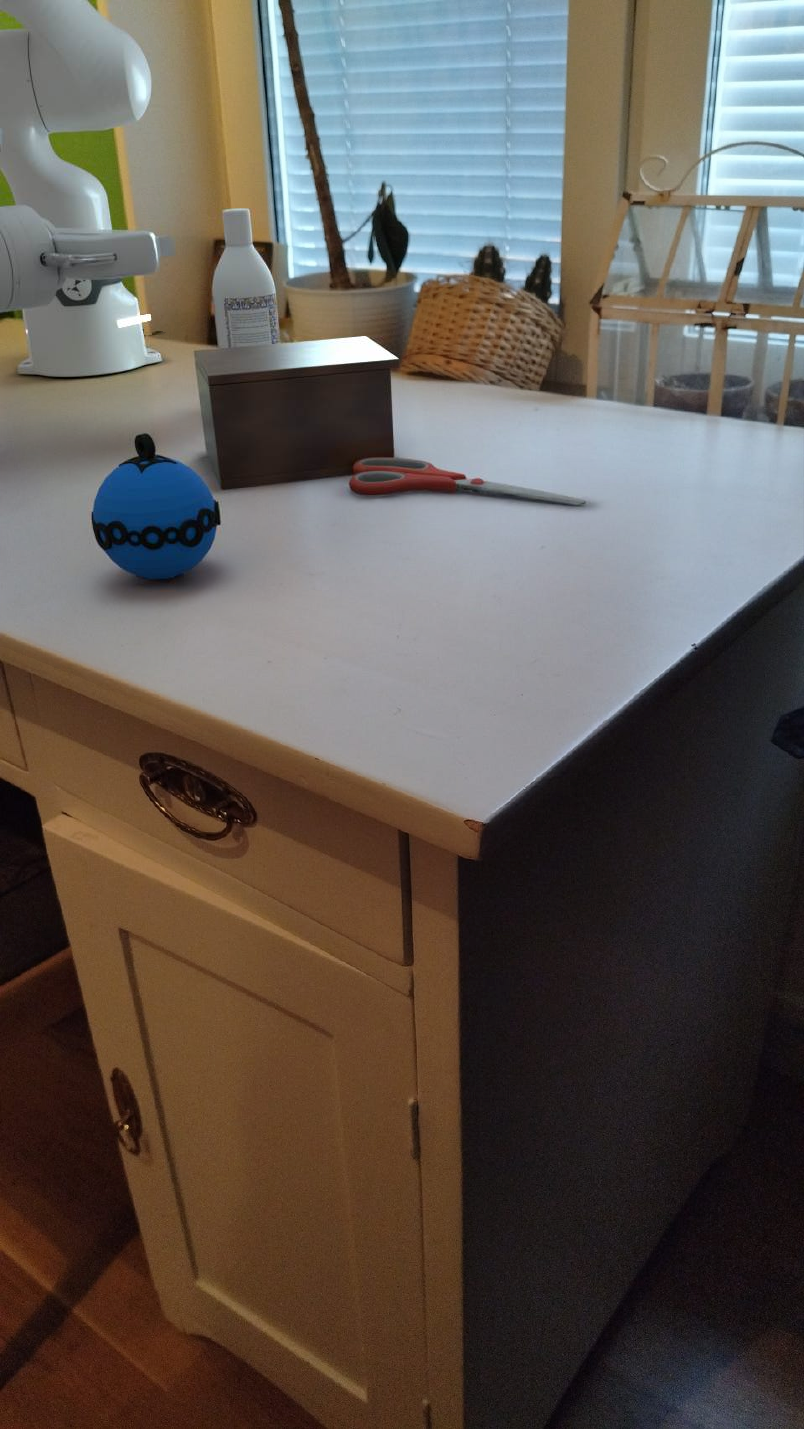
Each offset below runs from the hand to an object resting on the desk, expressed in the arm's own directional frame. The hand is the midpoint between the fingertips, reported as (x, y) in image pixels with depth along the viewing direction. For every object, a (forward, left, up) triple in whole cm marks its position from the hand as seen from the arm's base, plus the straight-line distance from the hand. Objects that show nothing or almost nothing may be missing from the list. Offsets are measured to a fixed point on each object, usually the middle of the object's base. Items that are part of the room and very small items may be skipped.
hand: (143, 244), depth 110 cm
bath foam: (-6, +10, -18) cm, 22 cm away
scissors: (+36, +22, -18) cm, 46 cm away
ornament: (+48, -4, -18) cm, 51 cm away
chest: (+22, +10, -18) cm, 30 cm away
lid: (+22, +11, -9) cm, 26 cm away
